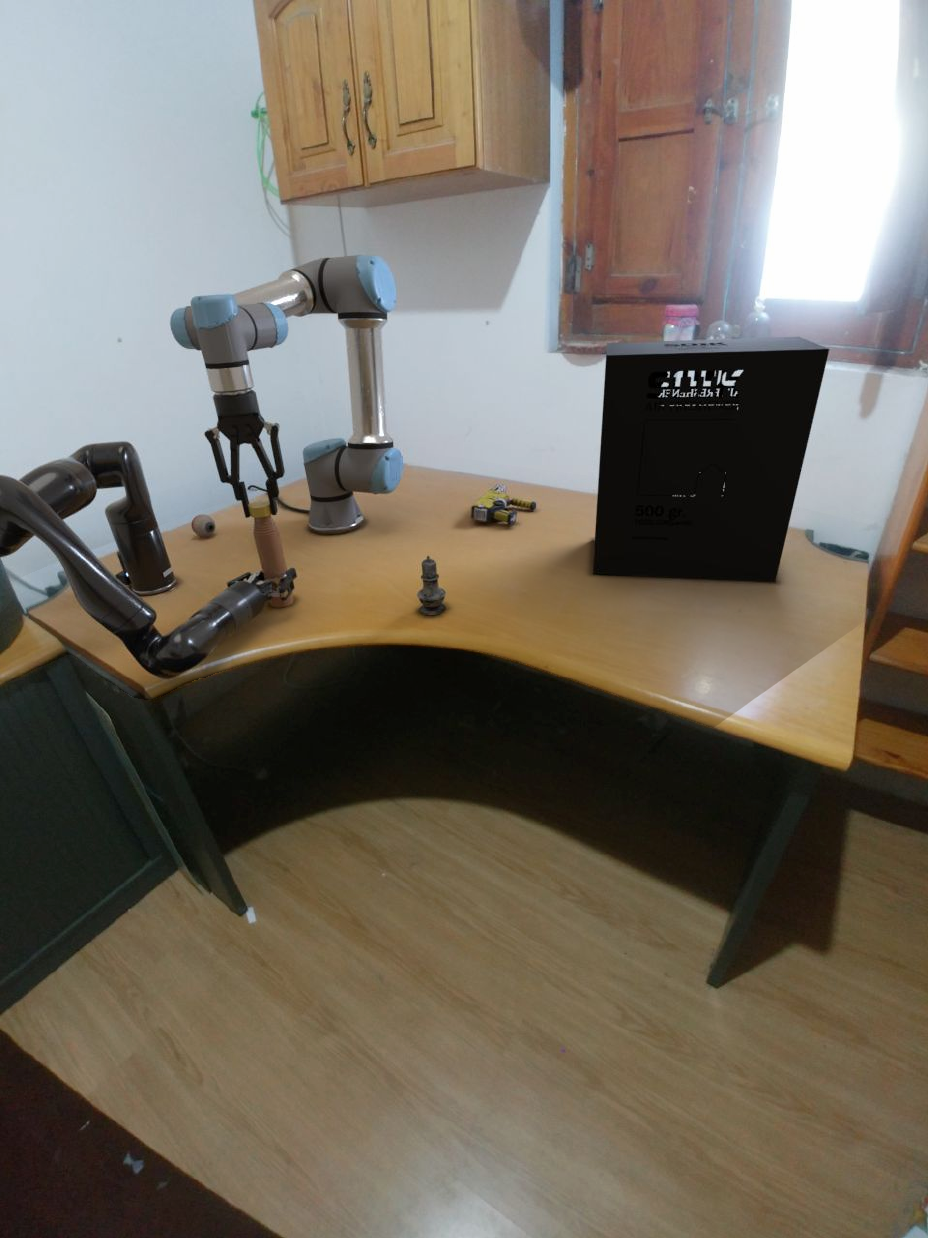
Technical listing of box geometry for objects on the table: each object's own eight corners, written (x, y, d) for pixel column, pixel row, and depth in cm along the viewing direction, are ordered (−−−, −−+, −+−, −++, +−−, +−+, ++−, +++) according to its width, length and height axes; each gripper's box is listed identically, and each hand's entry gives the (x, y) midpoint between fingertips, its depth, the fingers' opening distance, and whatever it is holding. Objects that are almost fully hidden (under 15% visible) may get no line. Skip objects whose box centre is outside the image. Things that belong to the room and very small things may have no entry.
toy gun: (544, 489, 177) (495, 482, 181) (524, 514, 157) (469, 505, 161) (542, 504, 180) (494, 497, 183) (522, 531, 159) (468, 521, 163)
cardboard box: (755, 543, 144) (798, 336, 121) (775, 581, 127) (829, 348, 104) (594, 538, 151) (606, 342, 129) (592, 573, 134) (606, 355, 112)
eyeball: (204, 541, 163) (198, 520, 160) (190, 537, 166) (184, 517, 163) (223, 533, 168) (217, 513, 165) (208, 530, 171) (202, 510, 168)
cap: (274, 515, 119) (272, 505, 118) (250, 519, 118) (248, 509, 117) (272, 508, 123) (270, 498, 122) (249, 512, 122) (246, 502, 121)
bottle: (284, 594, 134) (263, 501, 123) (298, 600, 131) (278, 505, 120) (265, 603, 130) (242, 508, 120) (279, 609, 128) (257, 513, 117)
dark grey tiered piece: (443, 616, 121) (439, 562, 115) (415, 615, 122) (409, 561, 116) (449, 602, 126) (446, 549, 120) (422, 601, 127) (417, 548, 121)
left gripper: (261, 594, 112) (309, 557, 126) (198, 587, 116) (250, 551, 130) (270, 629, 116) (315, 589, 129) (208, 620, 120) (258, 583, 134)
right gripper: (285, 384, 113) (307, 503, 125) (188, 391, 111) (220, 512, 123) (280, 390, 107) (304, 515, 118) (177, 398, 105) (212, 525, 116)
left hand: (282, 570), depth 130 cm, fingers closed on bottle, 5 cm apart
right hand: (261, 513), depth 121 cm, fingers closed on cap, 4 cm apart
